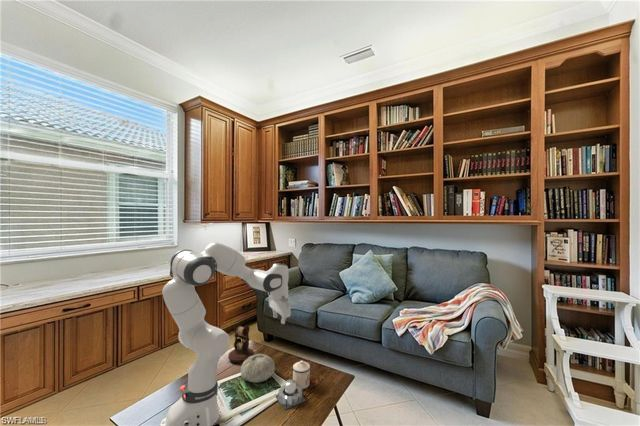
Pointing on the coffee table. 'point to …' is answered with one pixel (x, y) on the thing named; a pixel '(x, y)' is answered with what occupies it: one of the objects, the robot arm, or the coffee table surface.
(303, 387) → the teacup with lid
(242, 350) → the carved wooden figurine
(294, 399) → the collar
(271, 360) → the decorative shell
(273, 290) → the robot arm
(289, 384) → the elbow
